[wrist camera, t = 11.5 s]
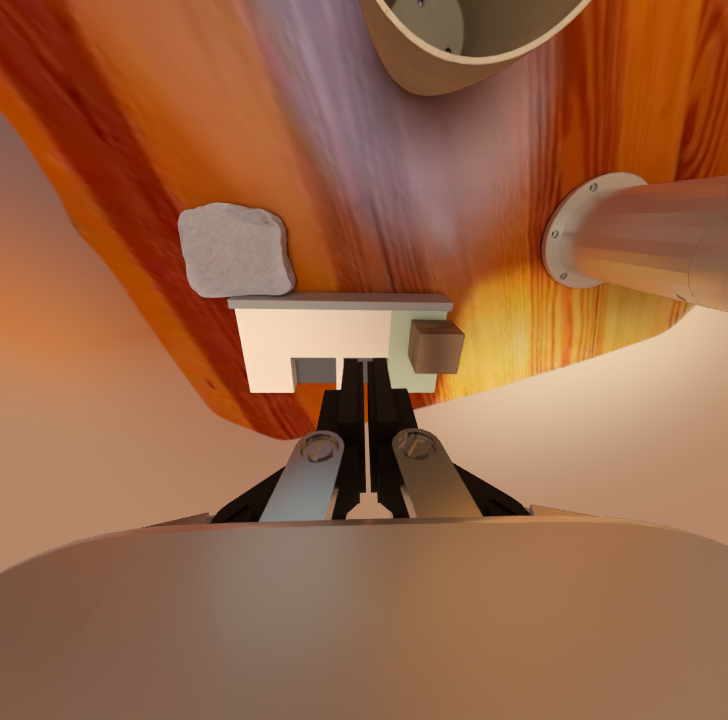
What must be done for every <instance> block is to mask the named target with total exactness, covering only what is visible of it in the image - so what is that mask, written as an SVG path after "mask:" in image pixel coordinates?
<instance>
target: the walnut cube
mask: <svg viewBox="0 0 728 720" xmlns="http://www.w3.org/2000/svg"><path fill="white" fill-rule="evenodd" d="M464 337H465V334H464V333H463V332H462V331H461V330H460V329H459V328H458V327H457V326H456V325H455V324H454V323H453V322H452V321H451V320H412V319H411V329H410V338H409V347H408V357H409V360H410V362H411V365H412V367H413V370H414V372H415V374H457V371H458V366H459V361H460V356H461V351H462V347H463V342H464Z"/></svg>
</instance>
